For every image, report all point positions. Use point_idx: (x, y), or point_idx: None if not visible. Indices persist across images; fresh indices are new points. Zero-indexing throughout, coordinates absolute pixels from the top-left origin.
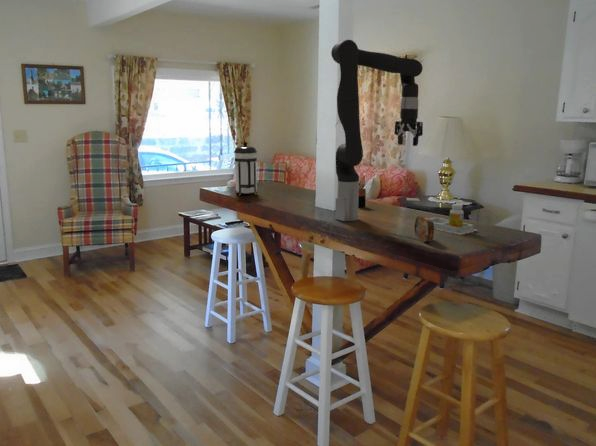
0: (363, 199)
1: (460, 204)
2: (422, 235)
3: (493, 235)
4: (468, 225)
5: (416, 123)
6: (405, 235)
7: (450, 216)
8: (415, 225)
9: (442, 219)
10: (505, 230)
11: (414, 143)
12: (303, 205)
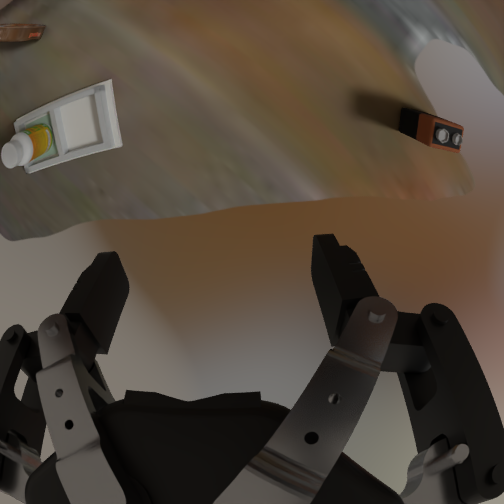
0: (411, 127)
1: (10, 167)
2: (15, 26)
3: (6, 177)
4: None
5: (17, 483)
6: (60, 7)
7: (27, 129)
8: (40, 27)
9: (87, 147)
10: (29, 224)
11: (95, 269)
12: (485, 41)
